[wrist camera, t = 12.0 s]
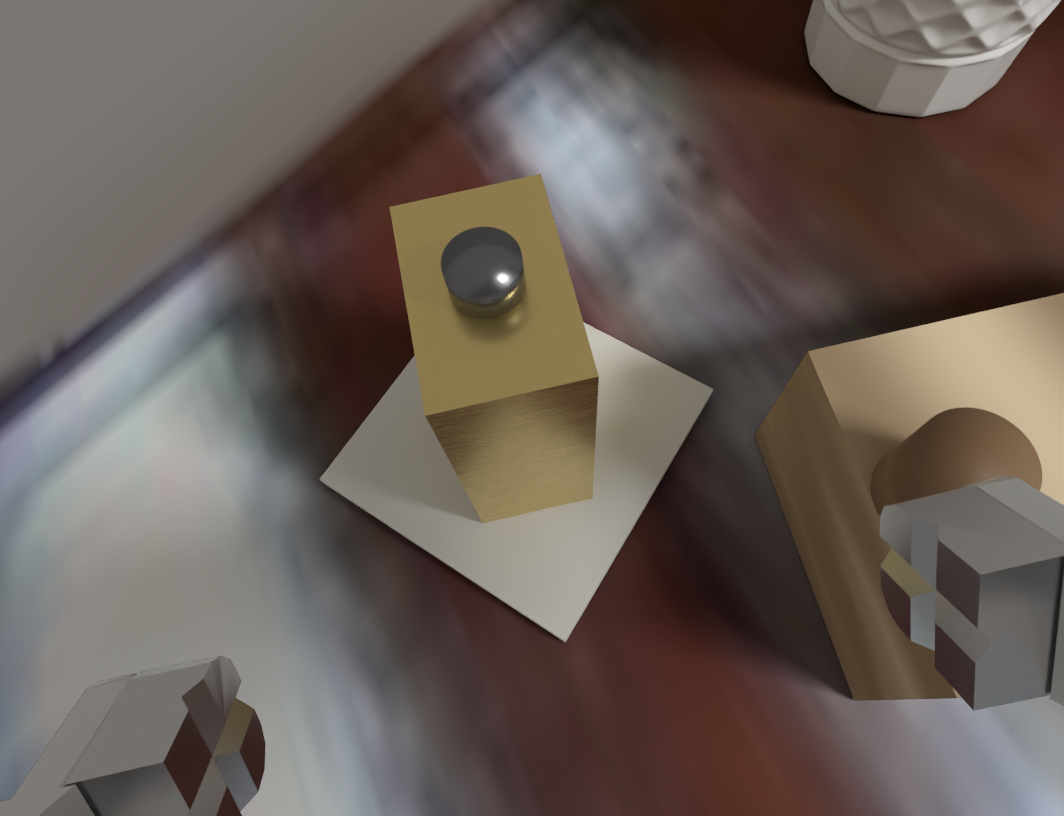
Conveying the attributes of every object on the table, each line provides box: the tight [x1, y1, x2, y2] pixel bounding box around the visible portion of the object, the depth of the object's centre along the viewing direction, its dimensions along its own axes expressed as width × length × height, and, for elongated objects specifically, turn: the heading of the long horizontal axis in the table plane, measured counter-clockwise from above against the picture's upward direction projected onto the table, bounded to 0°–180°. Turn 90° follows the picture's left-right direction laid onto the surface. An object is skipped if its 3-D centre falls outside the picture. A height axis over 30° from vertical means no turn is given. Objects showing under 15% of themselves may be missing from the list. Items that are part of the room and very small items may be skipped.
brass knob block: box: [390, 174, 599, 523], centre depth 16 cm, size 3×4×8 cm, turn 12°
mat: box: [319, 322, 714, 642], centre depth 20 cm, size 8×8×1 cm
